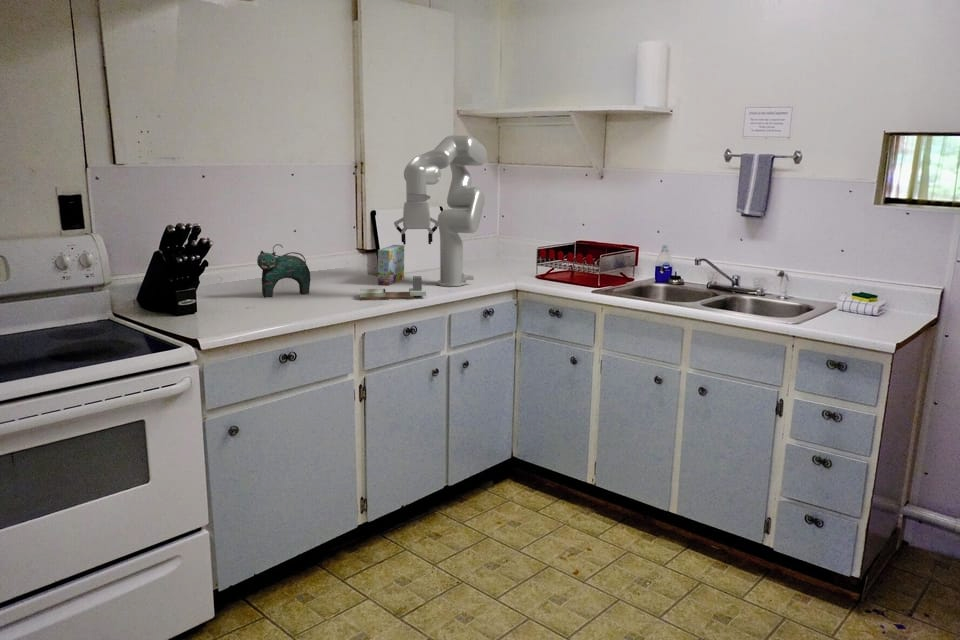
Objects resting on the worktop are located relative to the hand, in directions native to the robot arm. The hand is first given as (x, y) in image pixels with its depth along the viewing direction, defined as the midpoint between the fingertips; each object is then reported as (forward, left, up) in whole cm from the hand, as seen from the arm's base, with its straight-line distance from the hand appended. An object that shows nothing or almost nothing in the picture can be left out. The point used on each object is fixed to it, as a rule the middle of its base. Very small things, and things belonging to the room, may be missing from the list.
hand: (417, 244), depth 278 cm
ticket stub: (0, +1, -19) cm, 19 cm away
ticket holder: (+12, +1, -20) cm, 24 cm away
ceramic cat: (+51, -7, -21) cm, 55 cm away
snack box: (+9, -36, -21) cm, 43 cm away
